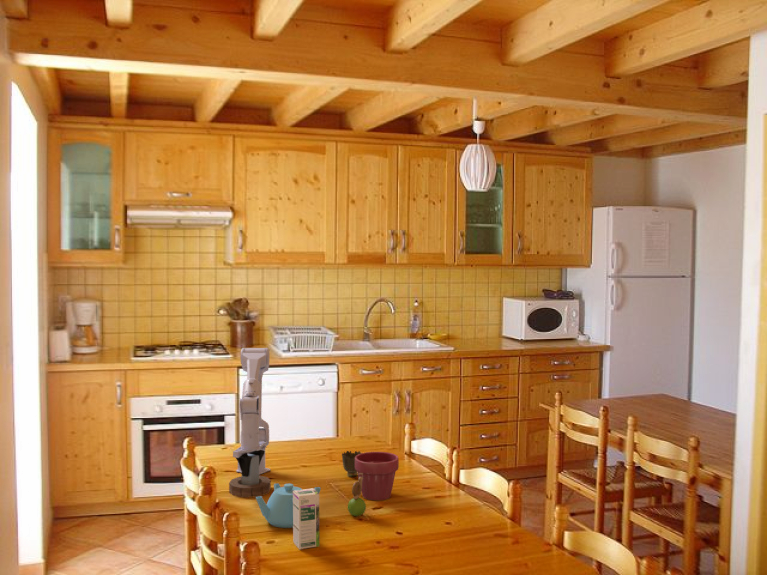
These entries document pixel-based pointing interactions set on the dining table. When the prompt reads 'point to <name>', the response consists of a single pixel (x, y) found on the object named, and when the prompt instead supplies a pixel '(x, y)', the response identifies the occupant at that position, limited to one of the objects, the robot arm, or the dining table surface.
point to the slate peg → (252, 472)
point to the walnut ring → (249, 487)
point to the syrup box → (306, 518)
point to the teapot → (280, 505)
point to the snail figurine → (357, 499)
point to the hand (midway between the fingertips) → (250, 474)
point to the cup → (350, 463)
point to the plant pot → (377, 473)
